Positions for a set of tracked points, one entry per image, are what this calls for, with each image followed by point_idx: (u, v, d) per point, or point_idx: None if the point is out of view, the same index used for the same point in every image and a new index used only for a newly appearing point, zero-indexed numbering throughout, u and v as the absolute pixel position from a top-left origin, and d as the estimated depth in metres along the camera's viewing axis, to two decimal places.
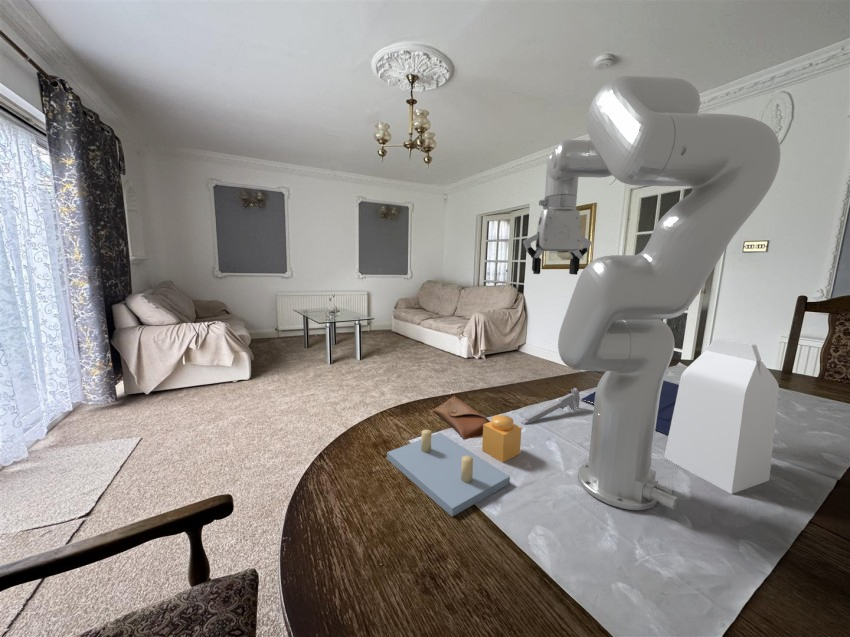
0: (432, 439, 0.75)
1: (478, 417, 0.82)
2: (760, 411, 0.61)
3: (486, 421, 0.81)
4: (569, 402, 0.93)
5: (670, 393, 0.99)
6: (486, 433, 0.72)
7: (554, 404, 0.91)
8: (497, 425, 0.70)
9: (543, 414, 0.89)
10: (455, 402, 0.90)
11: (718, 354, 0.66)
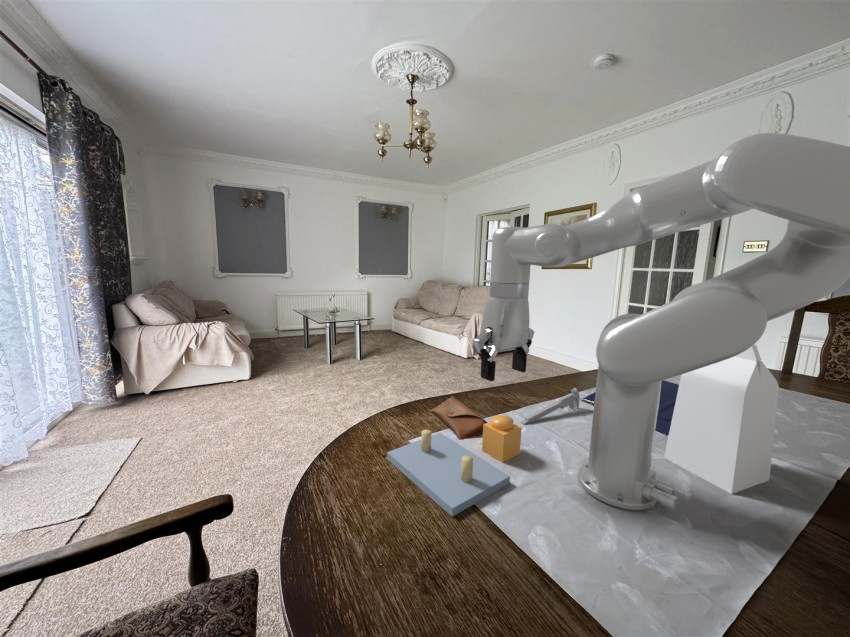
0: (432, 439, 0.75)
1: (475, 418, 0.82)
2: (760, 411, 0.61)
3: (483, 422, 0.80)
4: (569, 402, 0.93)
5: (671, 393, 0.99)
6: (486, 433, 0.72)
7: (554, 404, 0.91)
8: (497, 425, 0.70)
9: (543, 414, 0.89)
10: (453, 402, 0.90)
11: None
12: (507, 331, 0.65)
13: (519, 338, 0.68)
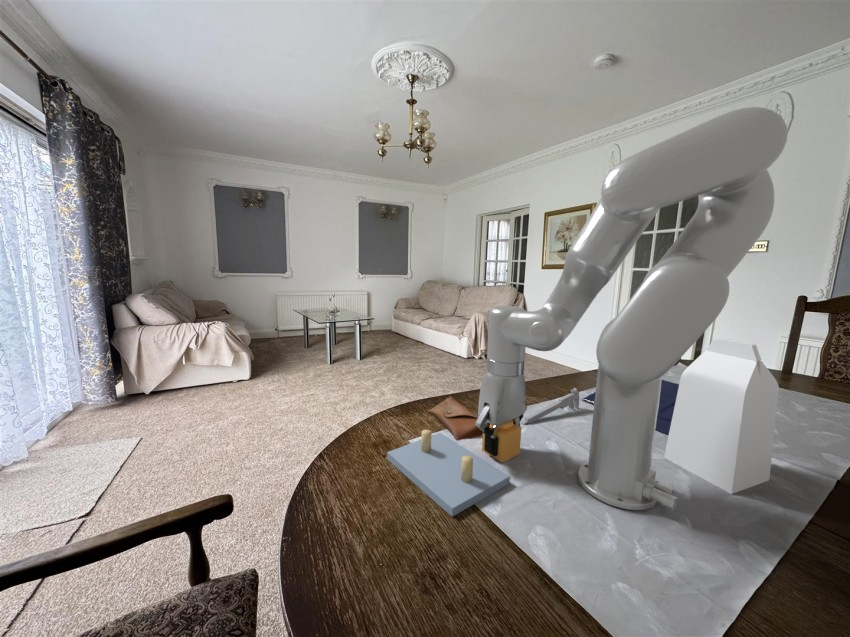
0: (432, 439, 0.75)
1: (472, 418, 0.82)
2: (760, 411, 0.61)
3: None
4: (569, 402, 0.93)
5: (671, 393, 0.99)
6: None
7: (554, 404, 0.91)
8: None
9: (543, 414, 0.89)
10: (450, 403, 0.89)
11: (718, 354, 0.66)
12: (504, 407, 0.68)
13: (515, 411, 0.70)
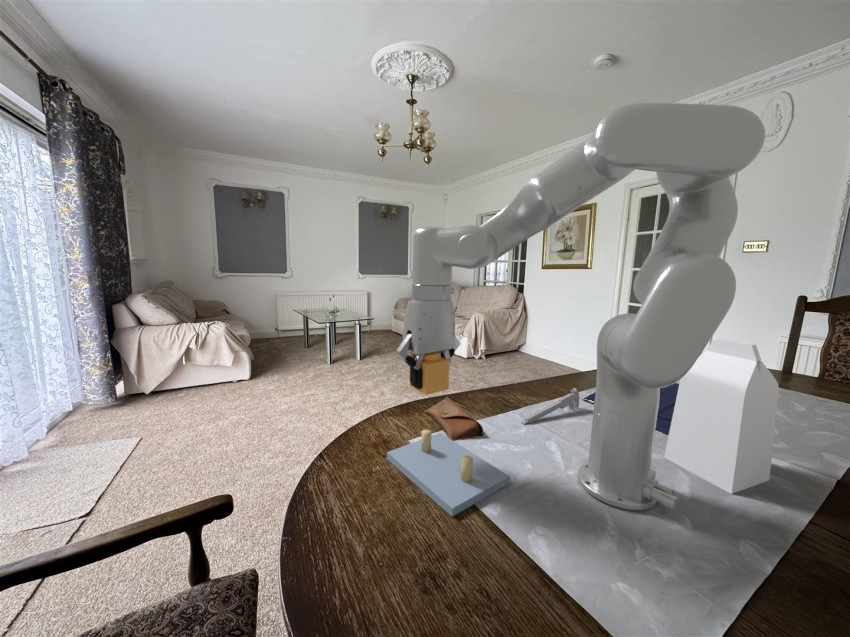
0: (432, 439, 0.75)
1: (468, 419, 0.81)
2: (760, 411, 0.61)
3: (475, 423, 0.80)
4: (569, 402, 0.93)
5: (672, 393, 0.99)
6: None
7: (554, 404, 0.91)
8: None
9: (543, 414, 0.89)
10: (447, 403, 0.89)
11: (718, 354, 0.66)
12: (427, 334, 0.64)
13: (442, 342, 0.66)
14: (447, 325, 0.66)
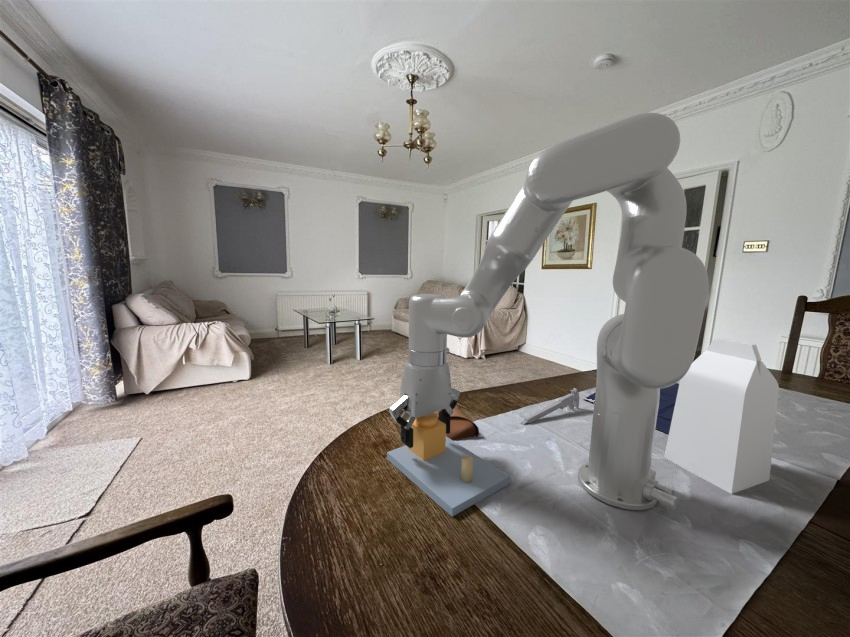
0: None
1: (464, 420, 0.81)
2: (760, 411, 0.61)
3: (471, 424, 0.79)
4: (569, 402, 0.93)
5: (673, 393, 0.99)
6: None
7: (554, 404, 0.91)
8: (419, 422, 0.68)
9: (543, 414, 0.89)
10: None
11: (718, 354, 0.66)
12: (424, 398, 0.65)
13: (439, 402, 0.68)
14: (443, 386, 0.68)
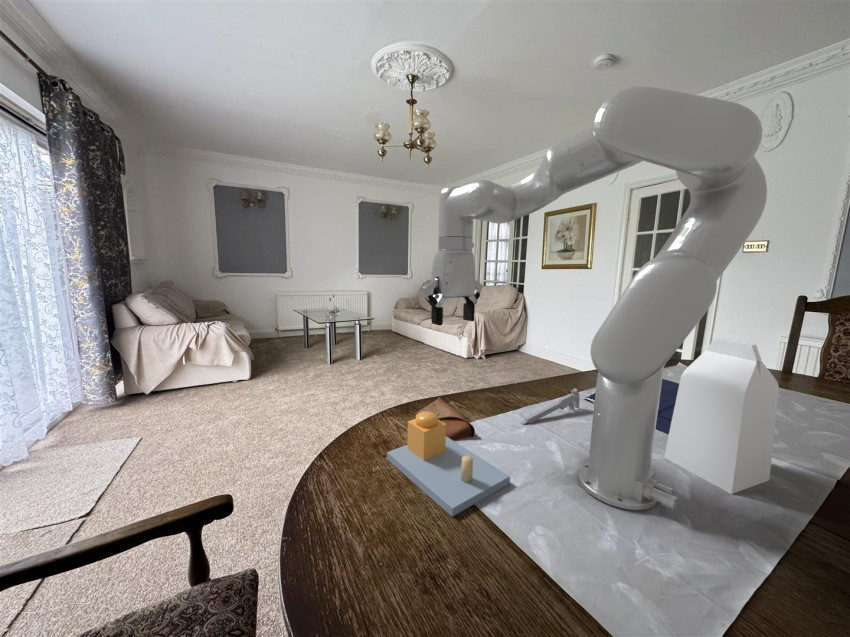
0: None
1: (460, 420, 0.81)
2: (760, 411, 0.61)
3: (467, 424, 0.79)
4: (569, 403, 0.93)
5: (674, 393, 0.99)
6: (410, 431, 0.70)
7: (554, 404, 0.91)
8: (419, 422, 0.68)
9: (543, 414, 0.88)
10: (439, 404, 0.88)
11: (718, 354, 0.66)
12: (453, 280, 0.74)
13: (465, 288, 0.76)
14: (469, 273, 0.76)
